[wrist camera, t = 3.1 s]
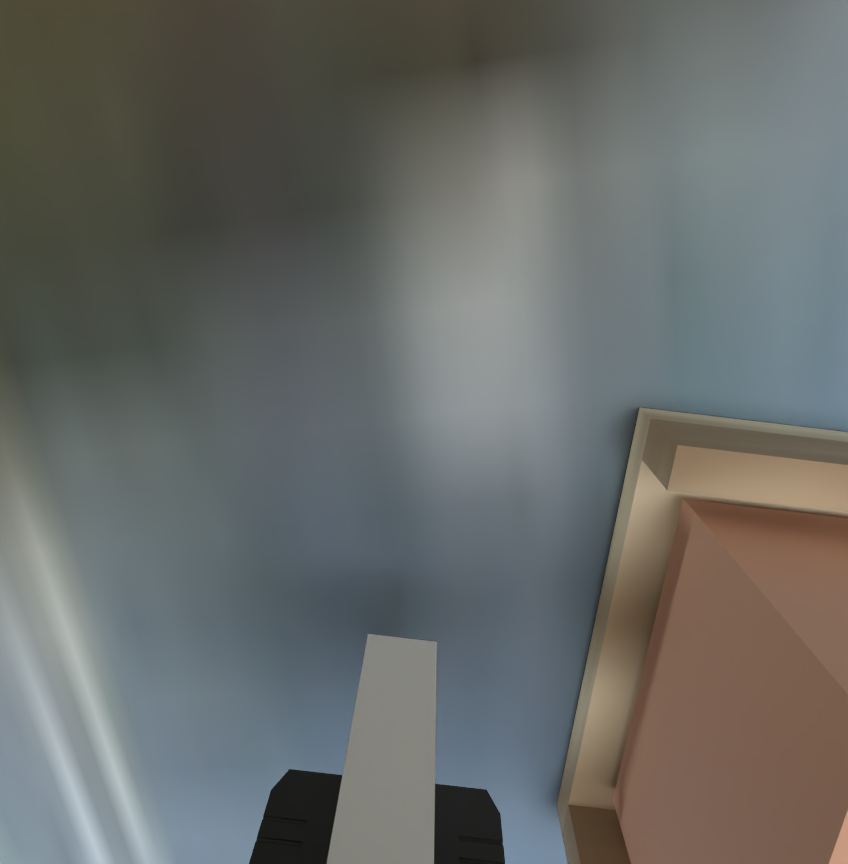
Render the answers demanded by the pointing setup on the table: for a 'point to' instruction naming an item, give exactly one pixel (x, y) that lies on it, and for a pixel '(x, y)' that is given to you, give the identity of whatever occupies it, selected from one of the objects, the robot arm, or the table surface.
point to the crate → (743, 695)
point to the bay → (645, 572)
